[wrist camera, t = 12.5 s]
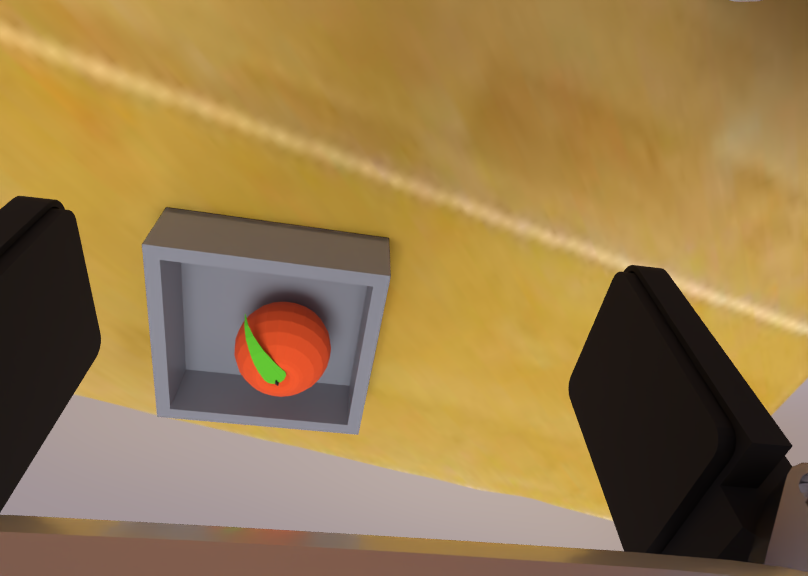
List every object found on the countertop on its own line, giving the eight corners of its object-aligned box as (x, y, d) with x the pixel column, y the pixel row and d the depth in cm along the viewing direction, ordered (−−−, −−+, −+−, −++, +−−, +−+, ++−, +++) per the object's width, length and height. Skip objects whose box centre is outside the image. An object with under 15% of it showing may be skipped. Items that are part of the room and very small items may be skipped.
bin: (389, 238, 41) (390, 276, 37) (359, 390, 50) (358, 434, 46) (166, 207, 39) (141, 244, 35) (175, 371, 48) (157, 416, 44)
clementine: (217, 294, 43) (192, 358, 37) (295, 258, 41) (282, 318, 35) (276, 364, 47) (262, 430, 41) (349, 333, 46) (346, 398, 40)
